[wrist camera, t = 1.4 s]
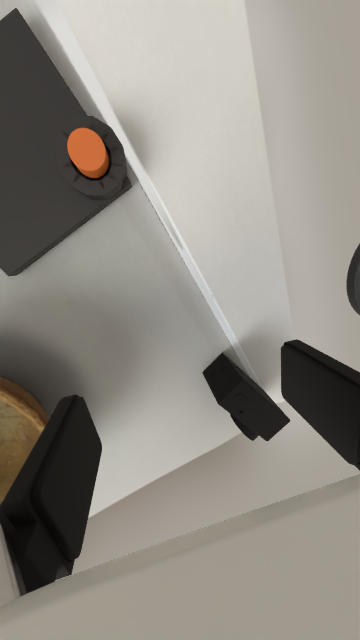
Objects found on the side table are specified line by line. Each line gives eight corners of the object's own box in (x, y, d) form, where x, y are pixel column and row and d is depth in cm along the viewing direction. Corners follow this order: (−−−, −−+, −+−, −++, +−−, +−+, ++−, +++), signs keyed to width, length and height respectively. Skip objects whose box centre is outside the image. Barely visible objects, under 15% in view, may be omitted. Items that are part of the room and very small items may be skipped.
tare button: (93, 131, 18) (88, 118, 16) (115, 165, 19) (113, 157, 17) (66, 152, 18) (58, 142, 16) (90, 185, 19) (85, 178, 17)
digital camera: (195, 377, 30) (210, 410, 24) (221, 352, 30) (243, 379, 23) (238, 411, 34) (261, 448, 27) (262, 388, 33) (291, 421, 27)
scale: (34, 18, 17) (13, -29, 14) (139, 181, 22) (138, 170, 19) (-118, 142, 18) (-167, 121, 15) (16, 275, 23) (-2, 278, 20)
